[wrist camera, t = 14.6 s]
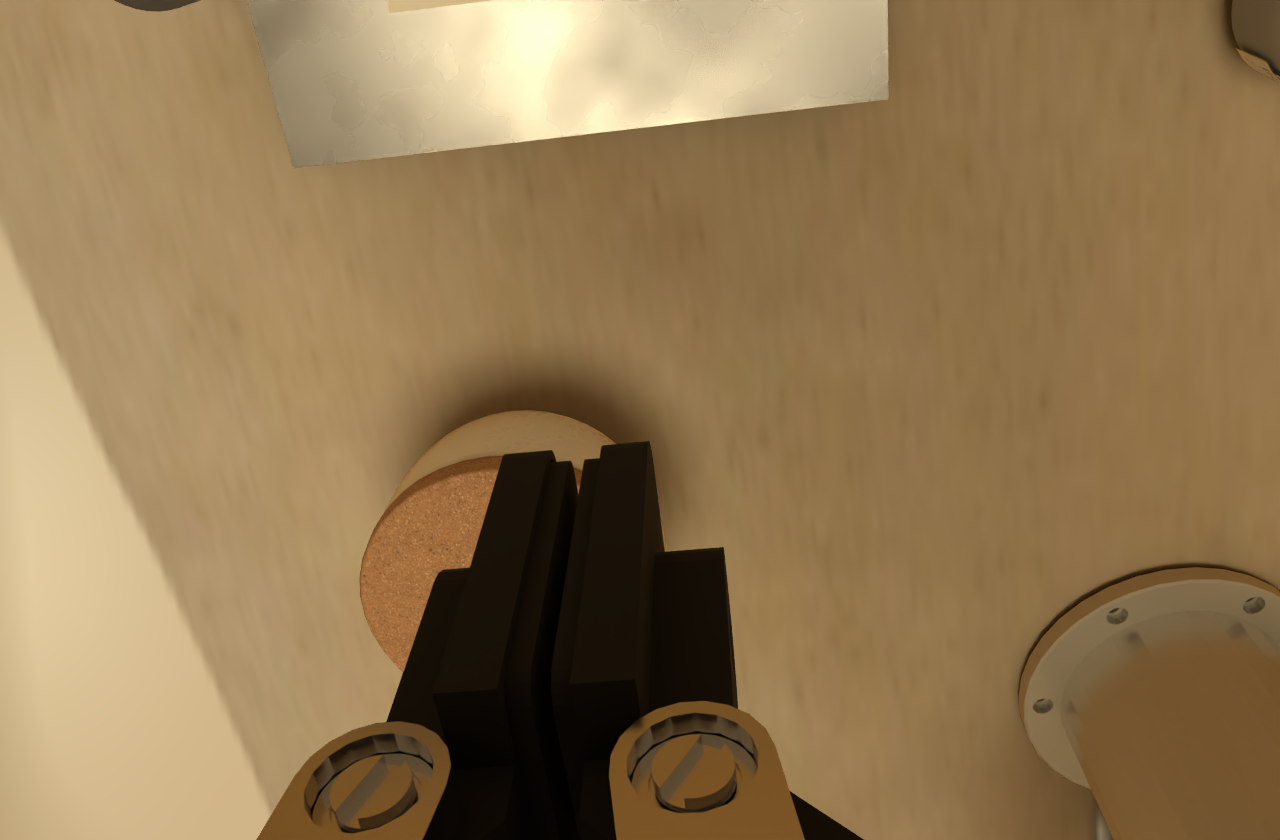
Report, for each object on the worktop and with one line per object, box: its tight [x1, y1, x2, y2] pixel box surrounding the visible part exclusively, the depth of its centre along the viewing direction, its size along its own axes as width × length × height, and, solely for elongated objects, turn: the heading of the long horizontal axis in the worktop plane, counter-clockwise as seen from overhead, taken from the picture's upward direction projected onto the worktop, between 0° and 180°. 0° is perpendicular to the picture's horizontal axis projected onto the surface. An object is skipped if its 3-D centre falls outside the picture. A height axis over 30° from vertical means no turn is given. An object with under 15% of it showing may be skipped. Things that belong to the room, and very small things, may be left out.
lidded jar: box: [360, 410, 666, 672], centre depth 39 cm, size 11×11×9 cm
